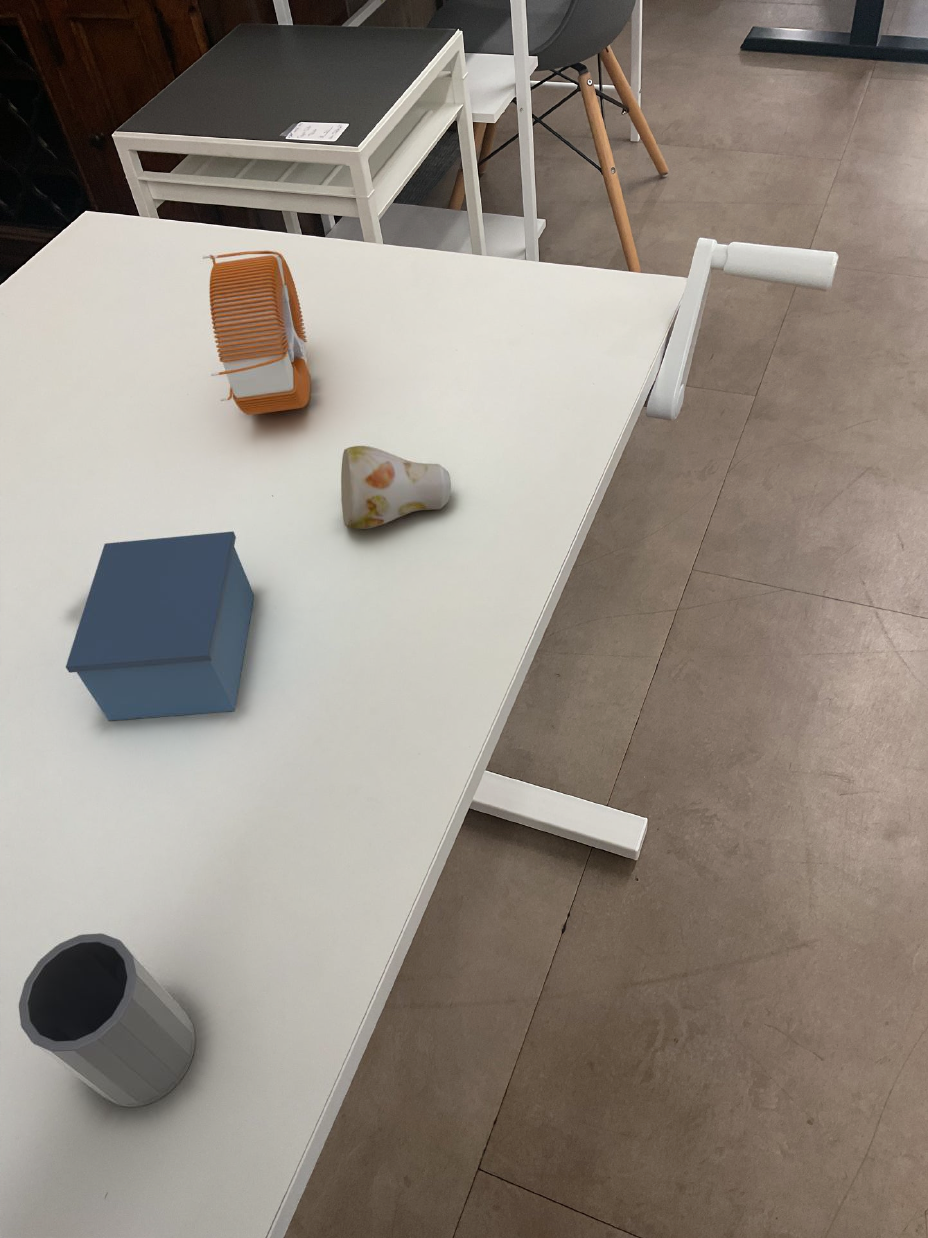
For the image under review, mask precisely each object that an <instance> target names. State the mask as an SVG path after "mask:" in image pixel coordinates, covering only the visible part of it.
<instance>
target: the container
mask: <svg viewBox="0 0 928 1238" xmlns="http://www.w3.org/2000/svg"><path fill="white" fill-rule="evenodd" d="M236 539H237V537H236V534H235V532H234V531H222V532H215V533H214V532H212V533H211V532H210V533H203V534H202V533H201V534H192V535H190V534H189V535H179V536H170V537H161V538H160V537H158V538H149V539H148V538H147V539H139V540H138V539H137V540H129V541H128V540H126V541H118V542H117V541H116V542H105V543H104V545H103V548H102V550H101V554H100V557H99V560H98V562H97V563H98V564H97V567H96V569H95V573H94V576H93V579H92V582H91V585H90V589H89V591H88V595H87V598H86V602H85V604H84V608H83V611H82V613H81V616H80V621H79V624H78V626H77V630H76V633H75V636H74V638H73V642H72V645H71V648H70V652H69V655H68V659H67V661H66V664H65V668H66V670H67V671H68V673H76V674H77V676H78V677H79V679H81V681H82V683H83V684H84V686H85V688H86V689H87V690H88V692H89V694H90V695H91V697H92V698H93V699H94V701H95V702H96V704H97V706H98V707H99V709H100V710H101V711H102V713H103V715H104V716H105V718H106V719H107V721H109V722H110V721H111V722H112V721H123V720H125V721H126V720H137V719H149V718H160V717H161V718H162V717H173V716H186V715H199V714H211V713H226V712H234V711H235V710H236V703H237V698H238V693H239V686H240V680H241V674H242V669H243V663H244V658H245V657H244V656H245V651H246V645H247V639H248V633H249V627H250V621H251V615H252V611H253V610H252V609H253V603H254V598H255V594H254V591H253V589H252V586H251V584H250V581H249V579H248V576H247V574H246V571H245V569H244V567H243V564H242V562H241V560H240V557H239V555H238V552H237V550H236V548H235V543H236Z"/></svg>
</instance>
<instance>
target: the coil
mask: <svg viewBox="0 0 928 1238" xmlns="http://www.w3.org/2000/svg"><path fill="white" fill-rule="evenodd" d="M245 255H260V256H253V257H247V258H240V259H234V260H233V259H232V260H226V261H221V262H217V261H216V259H221V258H230V257H238V256H245ZM202 259H210V260H212V264H213V265H212V266H211V267H212V268H211V270H210V276H209V306H210V308H209V309H210V315H211V324H212V325H213V326H212V329H213V334H214V336H213V337H214V339H216V340H215V341H214V343H216V345H215V347H216V348H217V349H216V352H217V353H218V354H217V355H218V358H219V362H220V363H222V364H223V368H224V371H217V372H211V373H210V375H211V377H217V376H221V375H226V378H227V381H228V383H229V396H228V397H222V398H220V402H227V401H230V400H233V401H234V403H235V404H236V406H237V407H238V409H239V410H240V411H241V412H243V414H245V415H250V416H252V415H253V416H254V415H259V414H265V413H267V414H268V413H274V412H281V411H288V410H295V409H303V408H304V407H306V406H307V404H308V403H309V400H310V397H311V374H310V371H309V368H308V358H307V350H306V343H307V342H308V339H306V338H307V335H305V334H306V331H305V329H306V328H305V327H304V325H305V323H304V319H303V314H302V310H301V309H302V308H301V303H300V299H299V295H298V291H297V288H296V284H295V281H294V277H293V275H292V272H291V270H290V267H289V265H288V262H287V260H286V259H285V257H284V255H283V254H281V253H280V252H278V251H272V250H252V251H251V250H249V251H248V250H247V251H241V252H232V253H225V254H218V255H212V254H207V255H202Z"/></svg>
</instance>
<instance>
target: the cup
mask: <svg viewBox="0 0 928 1238" xmlns="http://www.w3.org/2000/svg"><path fill="white" fill-rule="evenodd" d="M18 1015H19V1019H20V1020H19V1022H20V1027H21V1029H22V1030H23V1032H24V1033H25V1035H26V1036H27V1038H29V1040H30V1042H31V1043H32V1044H33V1045H34V1046H36V1047H37V1048H38V1049H39V1050H41V1051H42V1052H44V1053H45V1054H46V1055H47V1056H49V1058H52V1059H53V1060H54V1061H56V1063H58V1064H59V1065H60V1066H62V1067H63V1068H64V1069H66V1070H67V1071H69V1072H70V1073H71V1074H72V1075H74V1076H75V1077H76V1078H78V1079H79V1080H80V1081H82V1082H83V1083H84V1084H86V1085H87V1086H88V1087H90V1088H91V1089H92V1090H94V1091H95V1092H96V1093H98V1094H99V1095H100V1096H102V1097H103V1098H104V1099H107V1100H108V1101H109V1102H111V1103H113V1104H114V1105H115V1104H116V1105H117V1106H120V1107H121V1106H122V1107H125V1108H135V1107H142V1106H147V1105H149V1104H152V1103H154V1102H156V1101H158V1100H160V1099H162V1098H163V1097H165V1096H167V1095H168V1094H169V1093H170V1092H171V1091H173V1089H175V1087H177V1085H178V1084H179V1083H180V1082H181V1081H182V1079H183V1078H184V1076H185V1074H186V1073H187V1072H188V1070H189V1067H190V1065H191V1063H192V1060H193V1056H194V1053H195V1049H196V1047H195V1046H196V1035H195V1034H196V1033H195V1028H194V1025H193V1022H192V1019H191V1017H189V1015H188V1014H187V1012H186V1011H185V1010H184V1009H183V1008H182V1007H181V1005H180V1004H179V1003H178V1002H177V1000H176V999H174V997H173V996H172V995H171V994H170V993H169V992H168V991H167V990H166V988H164V987H163V985H162V984H161V983H160V982H159V980H157V979H156V978H155V977H154V976H153V974H152V973H151V972H150V971H149V970H148V969H147V968H146V967H145V966H144V964H143V963H142V962H141V961H140V960H139V959H138V958H137V957H136V956H135V955H134V954H133V952H132V951H131V950H130V949H129V948H128V947H127V946H126V945H125V944H124V943H123V941H122V940H120V939H118V938H115V937H113V936H111V935H109V934H108V935H107V934H106V933H100V932H99V933H85V934H78V935H76V936H74V937H72V938H69V939H67V940H64V941H62V942H60V943H58V944H57V945H55V946H54V947H53V948H52V949H50V951H48V952H47V953H46V954H45V955H44V956H42V957H41V958H40V959H39V960H38V961H37V963H36V965H35V966H34V967H33V969H32V970H31V972H30V973H29V974H28V976H27V977H26V979H25V982H24V983H23V987H22V991H21V995H20V997H19V1001H18Z"/></svg>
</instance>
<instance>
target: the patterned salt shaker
mask: <svg viewBox="0 0 928 1238" xmlns="http://www.w3.org/2000/svg"><path fill="white" fill-rule="evenodd" d="M341 459H342V460H341V472H340V495H341V497H340V499H341V510H342V512H341V513H342V519H343V524H344V526H345V527H347V528H353V529H356V530H357V529H358V530H363V529H364V530H365V529H373V528H377V527H379V526H382V525H385V524H387V523H389V522H392V521H394V520H397V519H398V518H401V517H403V516H406V515H408V514H410V513H415V512H418V511H428V510H429V511H430V510H440V509H442V508H443V507H444V506H445V505H447V503H448V502H449V500H450V498H451V489H452V481H451V476H450V475H451V474H450V473H449V471H448V470H447V469H446V468H445V467H443V466H442V465H441V464H439V463H423V462H422V463H421V462H415V461H411V460H407V459H404V458H402V457H401V456H397V455H395V454H392V453H390V452H387V451H386V450H382V449H380V448H376V447H374V446H368V445H355V446H349V447H347V448H344V450H343V452H342V458H341Z"/></svg>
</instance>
